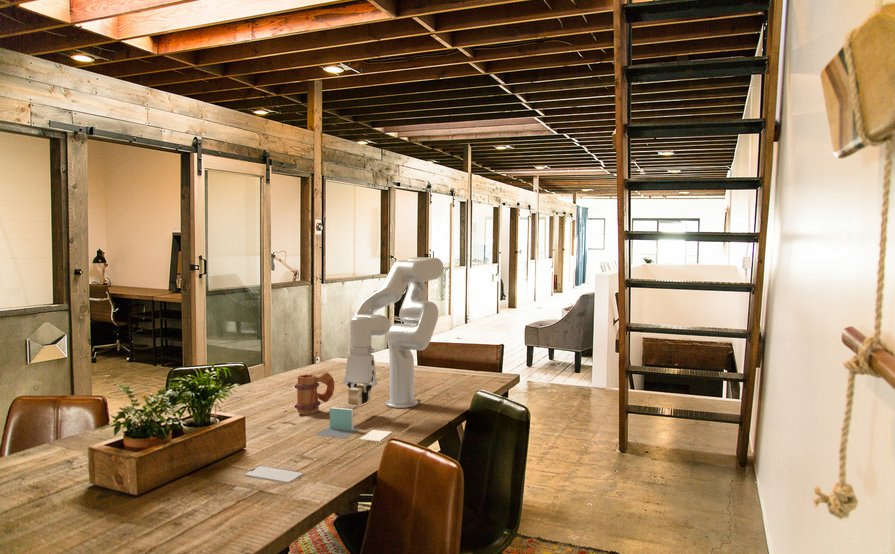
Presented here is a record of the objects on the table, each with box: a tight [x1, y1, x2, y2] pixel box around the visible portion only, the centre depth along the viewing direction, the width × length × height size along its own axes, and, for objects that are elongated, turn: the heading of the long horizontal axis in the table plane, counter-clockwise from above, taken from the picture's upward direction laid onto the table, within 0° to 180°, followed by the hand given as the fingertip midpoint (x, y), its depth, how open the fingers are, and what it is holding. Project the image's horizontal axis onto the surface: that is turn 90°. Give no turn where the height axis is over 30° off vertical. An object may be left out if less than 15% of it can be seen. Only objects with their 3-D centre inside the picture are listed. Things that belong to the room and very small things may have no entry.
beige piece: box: [339, 383, 372, 410], centre depth 216 cm, size 16×5×6 cm, turn 162°
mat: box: [314, 425, 361, 439], centre depth 203 cm, size 12×11×1 cm
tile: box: [329, 406, 354, 431], centre depth 205 cm, size 2×8×7 cm, turn 72°
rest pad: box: [359, 429, 393, 443], centre depth 198 cm, size 10×7×1 cm
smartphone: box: [243, 465, 305, 484], centre depth 166 cm, size 7×1×15 cm
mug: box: [294, 371, 336, 416], centre depth 227 cm, size 15×8×15 cm, turn 105°
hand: (359, 401), depth 219 cm, fingers closed on beige piece, 3 cm apart
